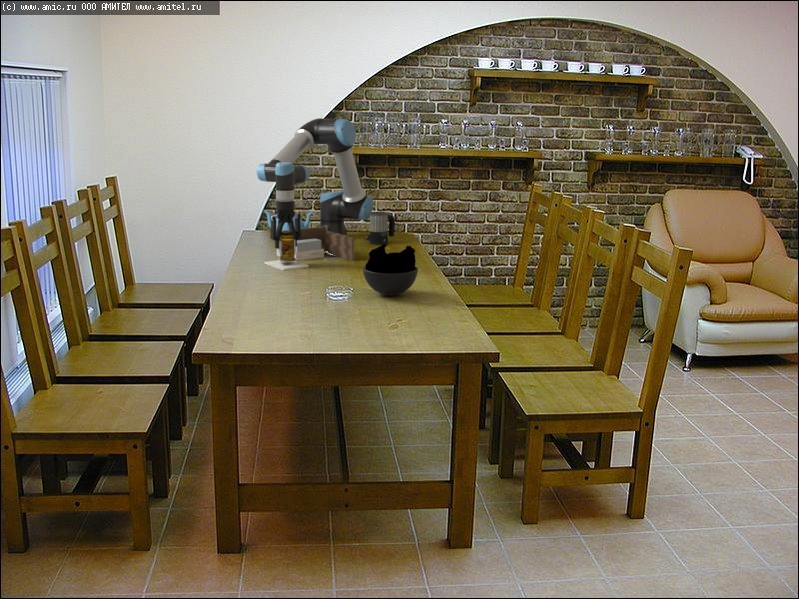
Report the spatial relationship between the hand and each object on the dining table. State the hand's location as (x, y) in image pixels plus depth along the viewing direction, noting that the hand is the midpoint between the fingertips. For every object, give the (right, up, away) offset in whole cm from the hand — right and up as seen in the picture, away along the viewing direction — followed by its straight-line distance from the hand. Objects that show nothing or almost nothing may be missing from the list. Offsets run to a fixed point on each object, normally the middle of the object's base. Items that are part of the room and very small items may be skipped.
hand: (286, 255), depth 362 cm
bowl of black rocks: (+44, -17, -46) cm, 66 cm away
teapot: (-7, +11, +65) cm, 66 cm away
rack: (+12, -1, +15) cm, 19 cm away
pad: (0, -4, +1) cm, 4 cm away
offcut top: (+7, +3, +17) cm, 18 cm away
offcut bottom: (+7, -1, +18) cm, 19 cm away
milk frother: (+36, +9, +59) cm, 69 cm away
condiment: (0, -2, +1) cm, 2 cm away
